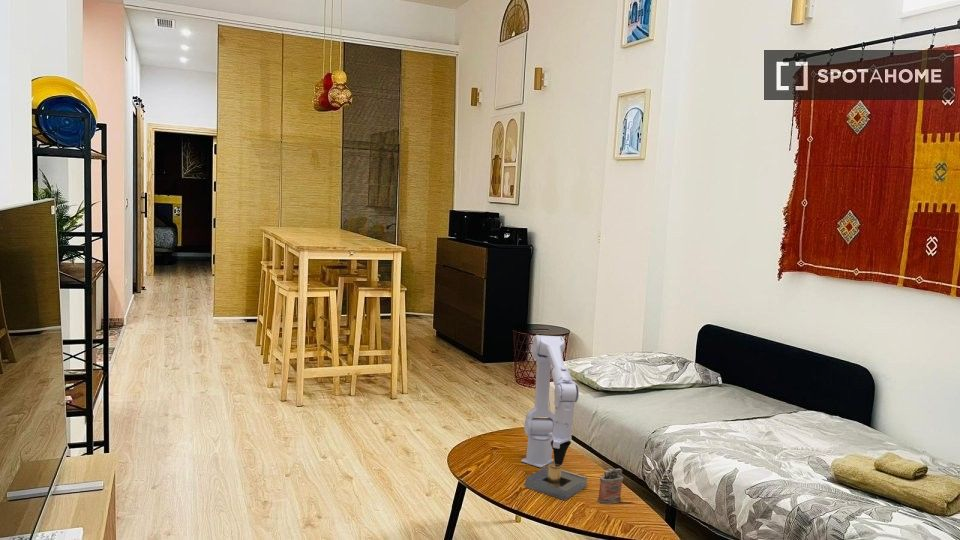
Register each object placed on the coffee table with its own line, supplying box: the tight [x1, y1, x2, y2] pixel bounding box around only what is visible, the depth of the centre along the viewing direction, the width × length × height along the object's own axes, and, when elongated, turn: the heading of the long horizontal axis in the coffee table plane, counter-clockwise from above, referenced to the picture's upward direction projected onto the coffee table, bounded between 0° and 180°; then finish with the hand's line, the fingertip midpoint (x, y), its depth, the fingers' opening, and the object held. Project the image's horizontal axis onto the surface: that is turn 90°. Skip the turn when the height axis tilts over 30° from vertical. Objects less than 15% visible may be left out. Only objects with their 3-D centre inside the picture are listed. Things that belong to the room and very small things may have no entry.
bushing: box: [547, 461, 564, 486], centre depth 228 cm, size 4×4×8 cm
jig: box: [524, 464, 588, 501], centre depth 231 cm, size 15×14×3 cm
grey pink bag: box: [597, 468, 624, 505], centre depth 223 cm, size 8×3×10 cm, turn 117°
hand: (558, 463), depth 228 cm, fingers closed
